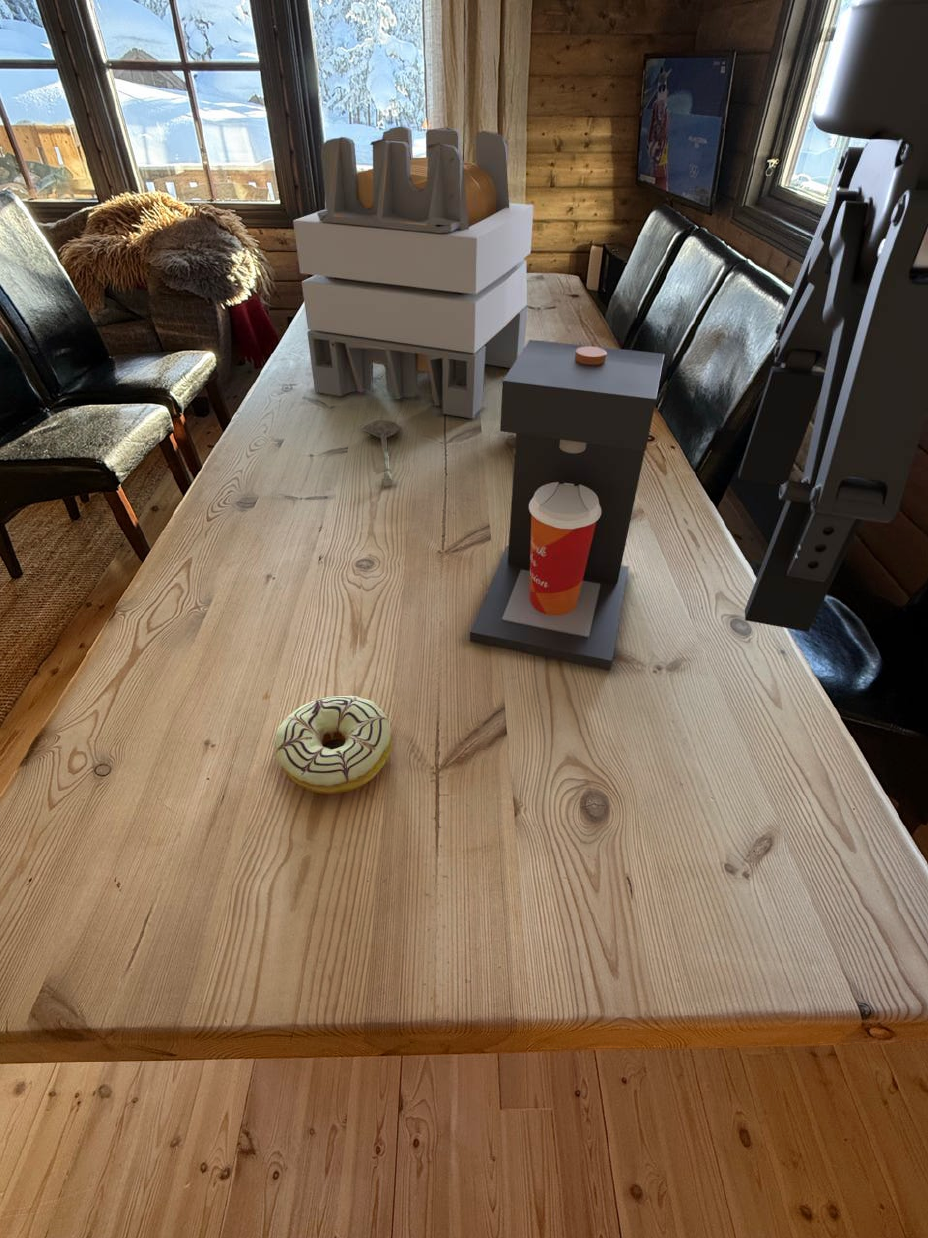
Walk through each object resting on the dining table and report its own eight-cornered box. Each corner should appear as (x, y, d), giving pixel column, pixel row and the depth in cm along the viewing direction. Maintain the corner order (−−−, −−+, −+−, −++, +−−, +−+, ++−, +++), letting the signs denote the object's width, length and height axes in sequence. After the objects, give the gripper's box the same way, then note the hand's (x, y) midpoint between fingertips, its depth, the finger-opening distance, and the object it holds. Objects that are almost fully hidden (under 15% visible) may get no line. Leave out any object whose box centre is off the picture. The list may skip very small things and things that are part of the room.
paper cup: (525, 576, 82) (534, 475, 72) (587, 585, 81) (605, 483, 71) (516, 617, 76) (524, 512, 67) (583, 626, 75) (601, 521, 66)
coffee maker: (610, 670, 72) (665, 419, 53) (469, 641, 75) (474, 395, 56) (626, 575, 85) (676, 346, 66) (506, 554, 88) (520, 330, 69)
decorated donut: (318, 700, 68) (313, 674, 66) (411, 732, 65) (409, 707, 63) (257, 777, 61) (248, 751, 58) (358, 818, 58) (354, 792, 55)
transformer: (526, 361, 143) (543, 128, 116) (474, 420, 120) (480, 146, 93) (385, 340, 152) (371, 120, 125) (311, 392, 129) (274, 135, 102)
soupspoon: (400, 428, 119) (364, 431, 118) (398, 410, 116) (361, 413, 116) (408, 485, 102) (365, 489, 101) (406, 464, 99) (362, 469, 99)
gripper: (811, 3, 31) (699, 431, 45) (943, -66, 13) (686, 691, 27) (992, 3, 29) (818, 446, 43) (1439, -76, 11) (889, 734, 25)
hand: (767, 540), depth 35 cm, fingers open, 13 cm apart
